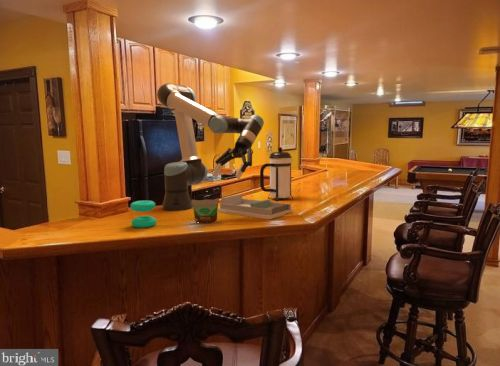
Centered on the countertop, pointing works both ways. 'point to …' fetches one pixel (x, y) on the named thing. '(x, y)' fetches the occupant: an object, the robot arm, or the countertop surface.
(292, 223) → the countertop surface
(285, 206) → the pusher lane
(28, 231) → the countertop surface
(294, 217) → the countertop surface
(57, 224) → the countertop surface
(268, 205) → the pusher paddle
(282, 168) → the coffee press
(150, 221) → the donuts
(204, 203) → the food container
